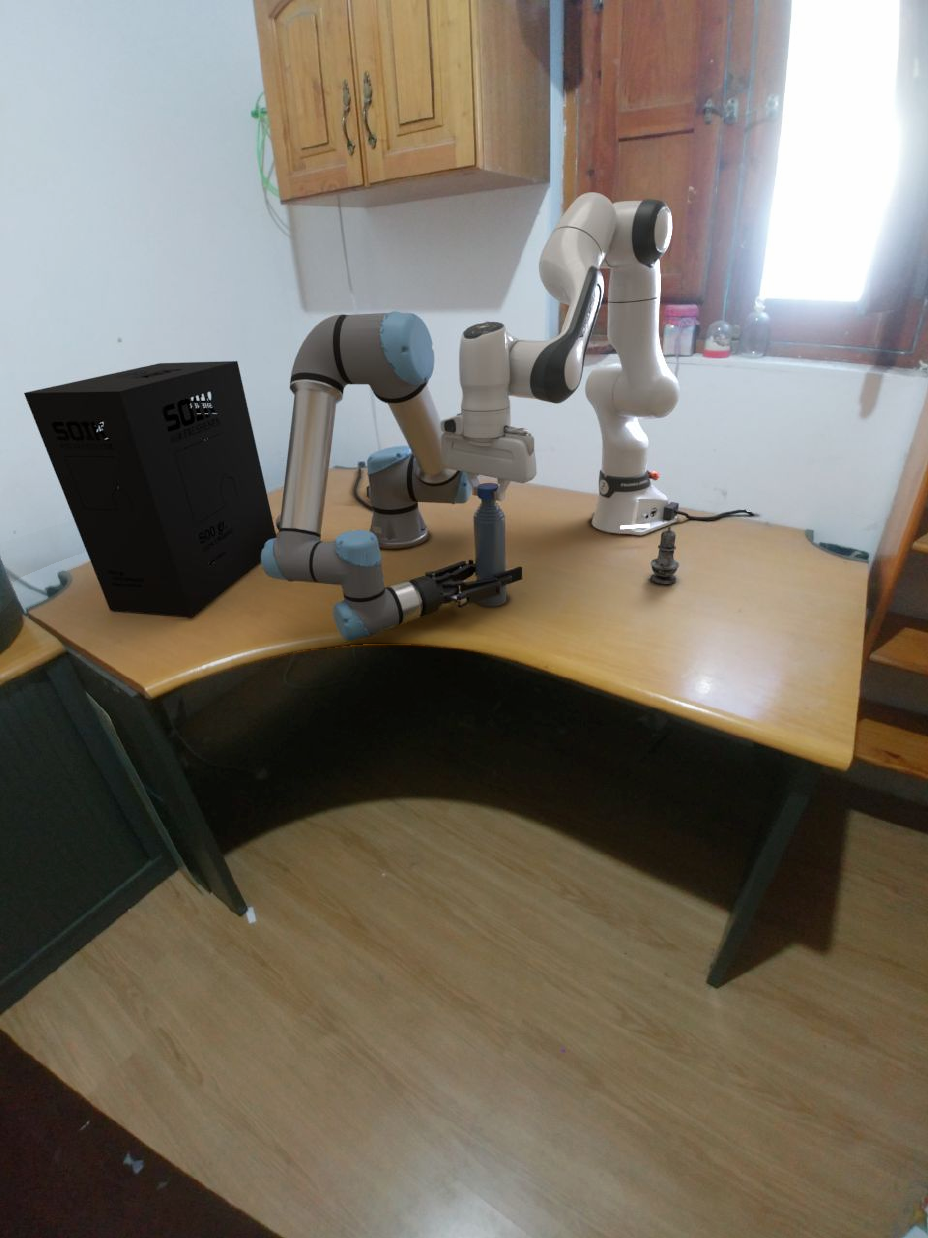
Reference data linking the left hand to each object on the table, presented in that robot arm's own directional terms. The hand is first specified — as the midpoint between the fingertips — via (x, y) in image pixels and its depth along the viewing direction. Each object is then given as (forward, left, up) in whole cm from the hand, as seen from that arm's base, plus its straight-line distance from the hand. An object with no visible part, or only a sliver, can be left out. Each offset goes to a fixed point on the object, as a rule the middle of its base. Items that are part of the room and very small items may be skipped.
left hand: (510, 567), depth 126 cm
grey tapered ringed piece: (+15, +30, -6) cm, 34 cm away
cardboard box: (-52, -53, -6) cm, 75 cm away
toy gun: (-76, +13, -6) cm, 77 cm away
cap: (0, -5, +18) cm, 19 cm away
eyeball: (-65, -28, -6) cm, 71 cm away
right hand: (0, -5, +16) cm, 17 cm away
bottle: (0, -5, -6) cm, 8 cm away
